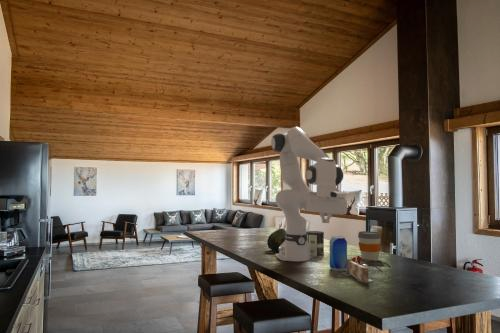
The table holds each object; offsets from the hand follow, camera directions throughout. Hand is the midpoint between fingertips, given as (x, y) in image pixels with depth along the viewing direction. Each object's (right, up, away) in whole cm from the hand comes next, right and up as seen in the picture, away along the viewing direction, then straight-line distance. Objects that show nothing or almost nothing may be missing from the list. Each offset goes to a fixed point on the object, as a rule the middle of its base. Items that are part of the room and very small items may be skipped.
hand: (325, 222), depth 175 cm
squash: (-17, -28, +64) cm, 71 cm away
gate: (+13, -23, -6) cm, 27 cm away
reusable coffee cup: (+33, -27, +39) cm, 57 cm away
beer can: (+9, -25, +12) cm, 29 cm away
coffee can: (+3, -27, +48) cm, 55 cm away
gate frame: (+13, -24, -3) cm, 28 cm away
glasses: (+27, -26, +19) cm, 42 cm away
